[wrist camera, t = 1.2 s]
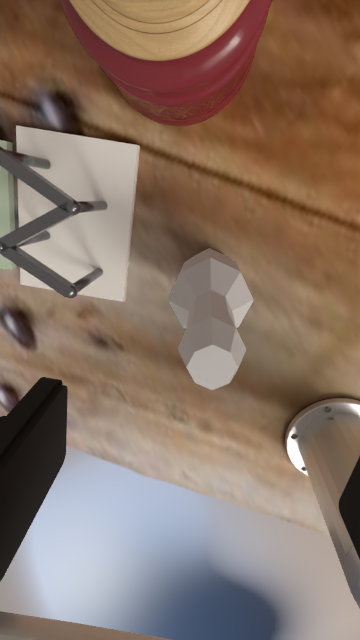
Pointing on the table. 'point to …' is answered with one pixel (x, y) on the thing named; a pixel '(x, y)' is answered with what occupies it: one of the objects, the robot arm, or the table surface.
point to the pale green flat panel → (6, 206)
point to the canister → (171, 51)
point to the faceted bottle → (211, 317)
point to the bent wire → (43, 223)
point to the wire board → (88, 227)
